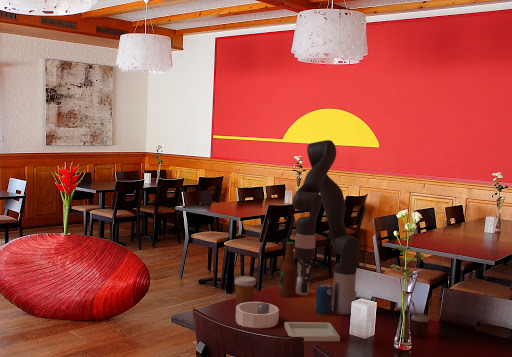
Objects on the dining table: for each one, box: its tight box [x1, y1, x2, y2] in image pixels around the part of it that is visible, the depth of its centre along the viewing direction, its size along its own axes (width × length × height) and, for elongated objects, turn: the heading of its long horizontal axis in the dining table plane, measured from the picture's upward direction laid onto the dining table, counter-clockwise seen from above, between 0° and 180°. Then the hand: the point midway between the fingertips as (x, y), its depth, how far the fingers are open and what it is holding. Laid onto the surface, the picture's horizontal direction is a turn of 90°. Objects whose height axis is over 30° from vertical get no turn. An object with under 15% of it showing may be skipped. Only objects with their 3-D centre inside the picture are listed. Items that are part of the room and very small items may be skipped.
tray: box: [283, 321, 341, 342], centre depth 216 cm, size 18×15×2 cm
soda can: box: [314, 282, 333, 316], centre depth 243 cm, size 7×7×12 cm
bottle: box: [279, 241, 297, 298], centre depth 265 cm, size 7×7×25 cm
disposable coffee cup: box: [234, 275, 257, 306], centre depth 246 cm, size 10×10×12 cm
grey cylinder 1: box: [257, 302, 270, 314], centre depth 227 cm, size 5×5×6 cm
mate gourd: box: [409, 299, 430, 336], centre depth 221 cm, size 8×8×15 cm
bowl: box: [235, 301, 280, 329], centre depth 227 cm, size 17×17×6 cm
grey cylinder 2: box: [295, 276, 310, 296], centre depth 214 cm, size 5×5×6 cm
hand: (302, 290), depth 214 cm, fingers closed on grey cylinder 2, 4 cm apart
